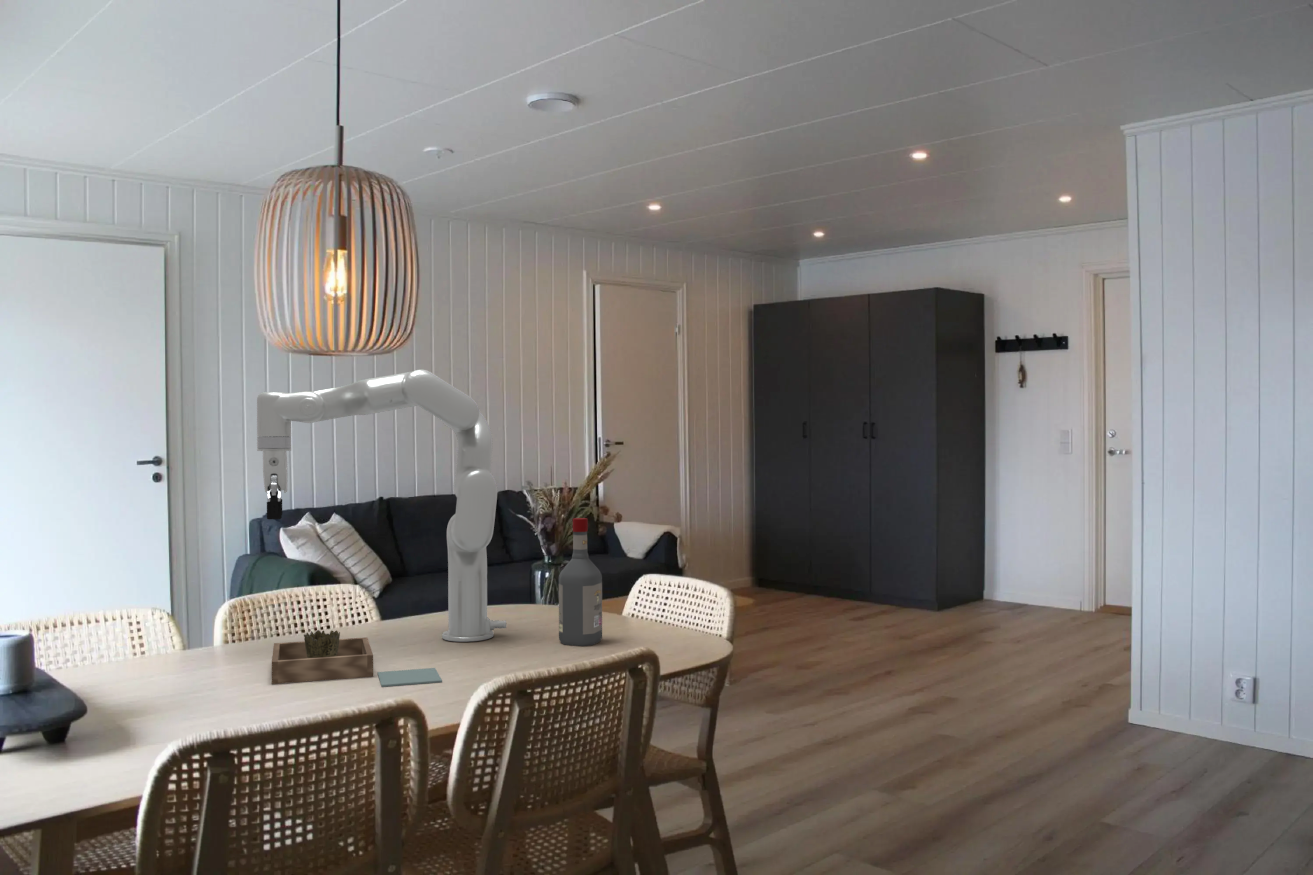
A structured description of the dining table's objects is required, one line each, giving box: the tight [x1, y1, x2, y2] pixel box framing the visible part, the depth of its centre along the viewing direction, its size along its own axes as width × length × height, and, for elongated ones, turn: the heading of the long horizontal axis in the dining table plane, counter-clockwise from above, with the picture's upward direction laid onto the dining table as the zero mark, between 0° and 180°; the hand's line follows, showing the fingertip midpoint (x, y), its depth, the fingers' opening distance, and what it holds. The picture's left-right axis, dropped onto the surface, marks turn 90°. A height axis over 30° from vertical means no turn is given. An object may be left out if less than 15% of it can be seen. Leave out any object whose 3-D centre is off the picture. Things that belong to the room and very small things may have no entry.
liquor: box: [558, 517, 603, 647], centre depth 256 cm, size 9×9×30 cm
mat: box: [377, 667, 443, 688], centre depth 220 cm, size 12×12×1 cm
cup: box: [303, 629, 341, 658], centre depth 227 cm, size 8×7×8 cm
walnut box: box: [271, 637, 374, 685], centre depth 227 cm, size 20×20×4 cm
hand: (274, 517), depth 248 cm, fingers open, 9 cm apart
